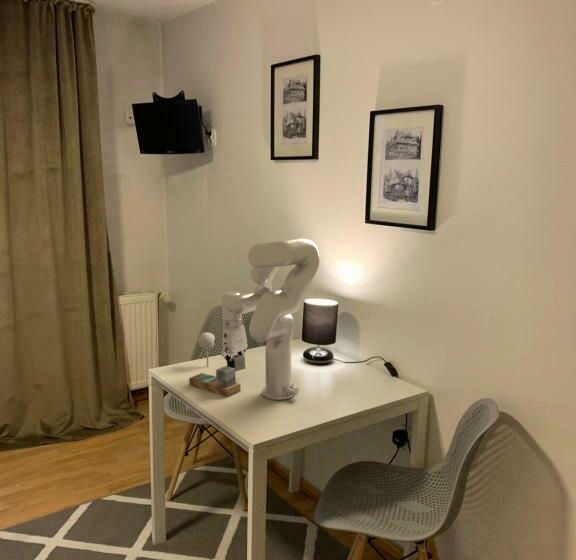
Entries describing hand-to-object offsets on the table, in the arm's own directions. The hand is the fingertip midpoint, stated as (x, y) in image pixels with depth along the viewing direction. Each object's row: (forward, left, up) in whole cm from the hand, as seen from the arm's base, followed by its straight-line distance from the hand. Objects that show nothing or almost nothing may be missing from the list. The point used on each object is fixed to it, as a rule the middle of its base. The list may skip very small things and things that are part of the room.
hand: (235, 367), depth 224 cm
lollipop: (+19, -3, -5) cm, 20 cm away
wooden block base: (0, +13, -5) cm, 14 cm away
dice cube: (0, 0, -1) cm, 1 cm away
